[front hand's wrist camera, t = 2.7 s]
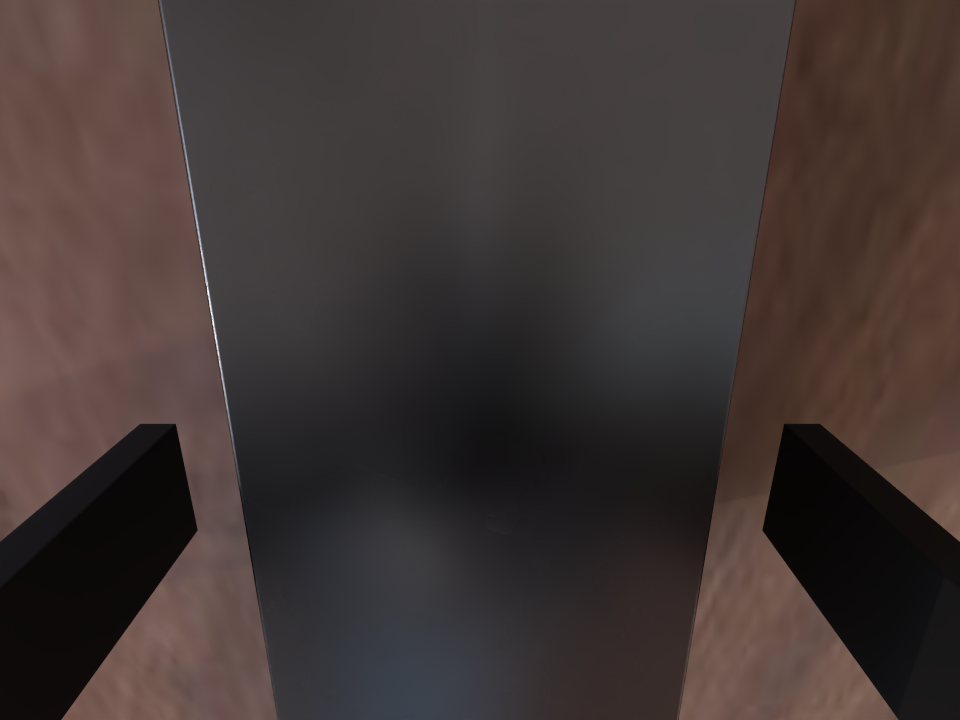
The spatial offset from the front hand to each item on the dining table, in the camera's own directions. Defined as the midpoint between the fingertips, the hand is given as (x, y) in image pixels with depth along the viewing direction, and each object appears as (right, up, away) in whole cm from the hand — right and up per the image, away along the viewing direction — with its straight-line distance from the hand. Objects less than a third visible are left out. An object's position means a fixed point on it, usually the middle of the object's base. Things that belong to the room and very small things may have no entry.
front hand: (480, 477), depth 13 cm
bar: (0, +9, 0) cm, 9 cm away
